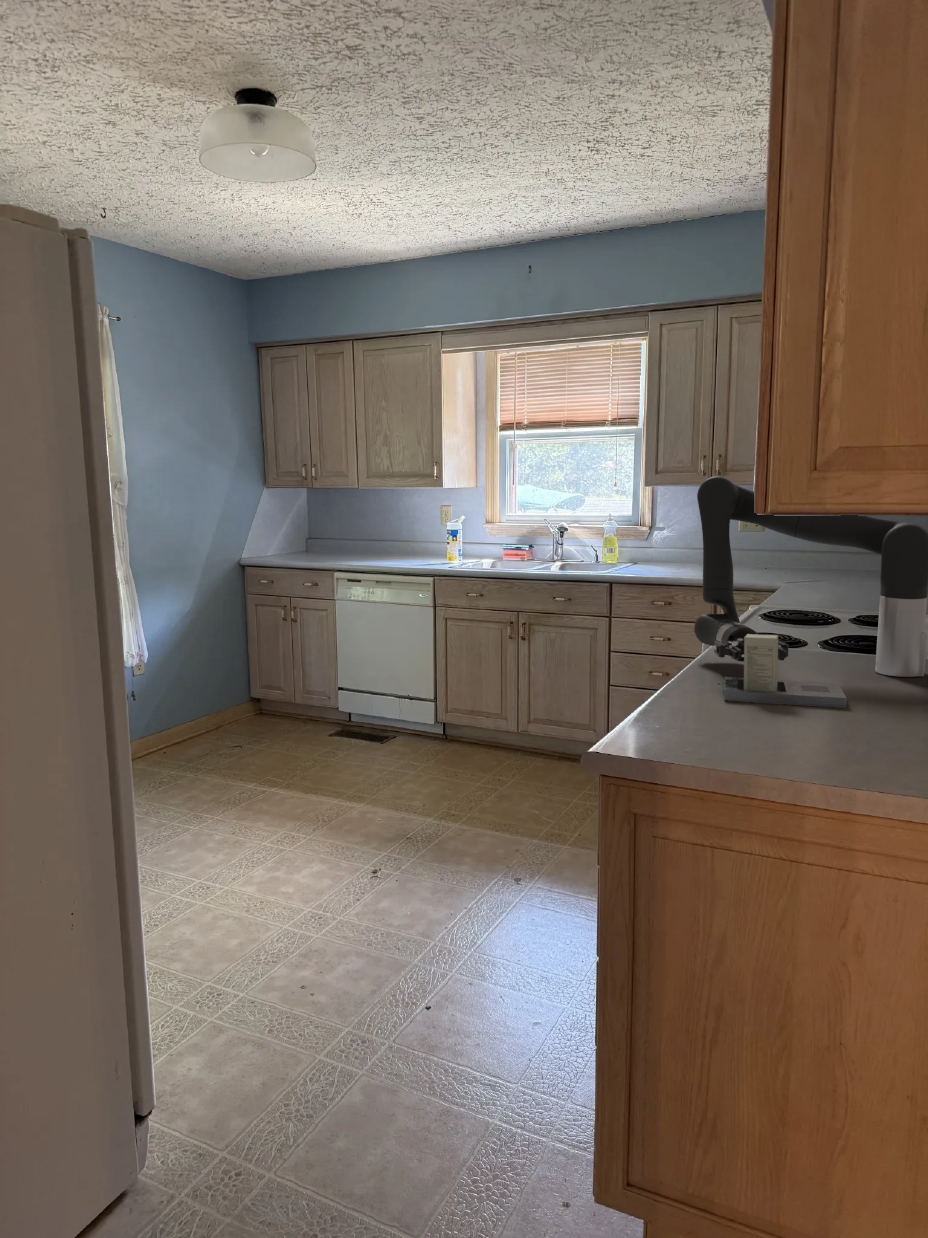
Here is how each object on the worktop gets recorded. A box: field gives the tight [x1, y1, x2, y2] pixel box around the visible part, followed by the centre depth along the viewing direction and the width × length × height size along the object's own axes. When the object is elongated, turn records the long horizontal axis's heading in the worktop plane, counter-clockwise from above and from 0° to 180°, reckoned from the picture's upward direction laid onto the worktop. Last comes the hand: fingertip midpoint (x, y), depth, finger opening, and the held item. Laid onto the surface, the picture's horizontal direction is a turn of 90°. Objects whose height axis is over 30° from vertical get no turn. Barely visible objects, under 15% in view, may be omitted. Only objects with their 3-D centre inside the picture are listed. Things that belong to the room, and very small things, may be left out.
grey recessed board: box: [723, 676, 848, 709], centre depth 168 cm, size 22×13×2 cm, turn 73°
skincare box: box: [743, 633, 779, 692], centre depth 168 cm, size 6×4×12 cm
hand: (761, 655), depth 169 cm, fingers open, 8 cm apart
